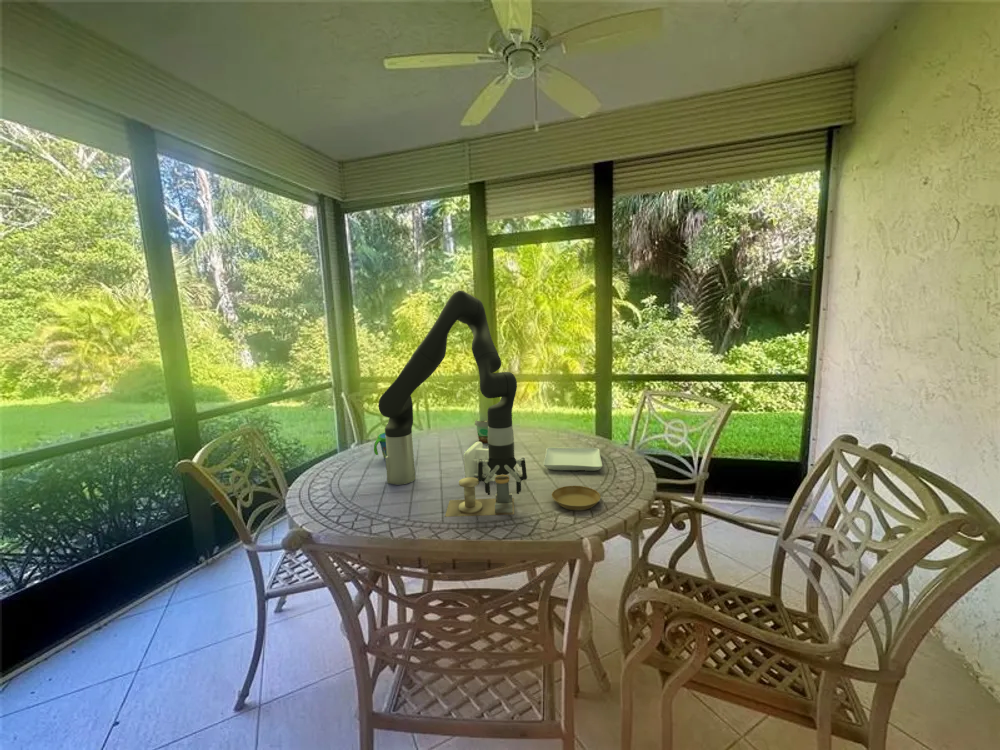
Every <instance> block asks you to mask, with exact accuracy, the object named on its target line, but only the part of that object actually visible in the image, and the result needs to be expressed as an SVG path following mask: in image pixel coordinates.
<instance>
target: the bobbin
mask: <svg viewBox="0 0 1000 750" xmlns="http://www.w3.org/2000/svg"><path fill="white" fill-rule="evenodd" d="M479 484H480V481H478V477H475V478H474V477H468V478H465V477H463V478H461V479H459V480H458V485H459V486H460V487H462V488H463V493H464V495H463V497H464V500H465V502H462V503H461V504H459V511H460V512H462V513H476V512H478V511H480V510H481V509H482V503H481V502H479V501H475V499H476V487H477V486H478V485H479Z"/></svg>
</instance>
